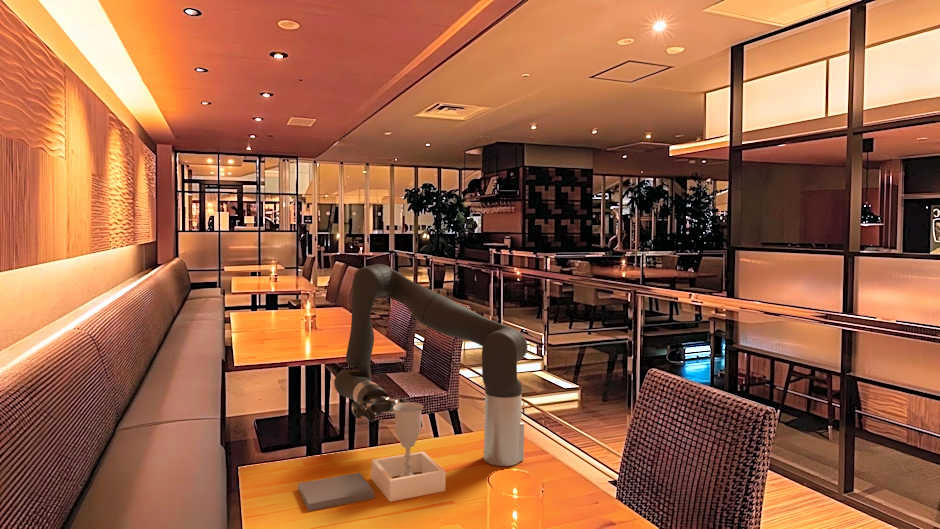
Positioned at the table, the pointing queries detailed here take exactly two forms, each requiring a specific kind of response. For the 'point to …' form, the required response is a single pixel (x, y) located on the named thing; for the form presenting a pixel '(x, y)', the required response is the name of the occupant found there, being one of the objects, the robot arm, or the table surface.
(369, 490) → the slate board
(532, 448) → the table surface
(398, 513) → the table surface
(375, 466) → the open box
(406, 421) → the chalice
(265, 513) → the table surface
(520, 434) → the robot arm
